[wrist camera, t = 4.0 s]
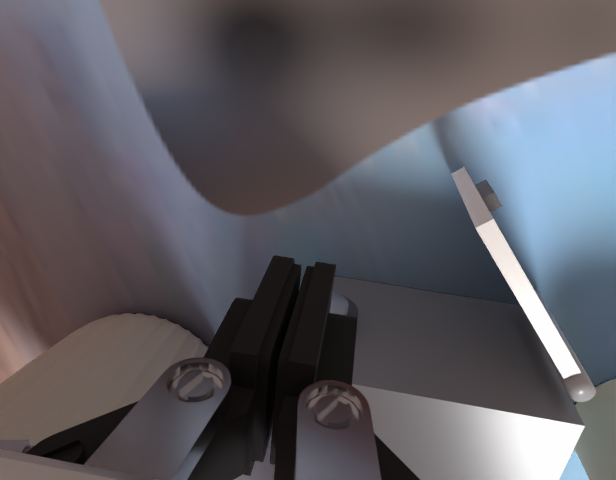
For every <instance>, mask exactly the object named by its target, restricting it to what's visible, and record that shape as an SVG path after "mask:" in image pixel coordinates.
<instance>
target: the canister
mask: <svg viewBox="0 0 616 480" xmlns="http://www.w3.org/2000/svg"><path fill="white" fill-rule="evenodd" d="M208 348H209V347H208V346H206V345H204V344H203V343H202V341H201V339H200V338H197V337H195V336H194V335H193V334H192V333H191V332H190V331H189V330H185V329H183V328H182V327H181V326H180V325H179V324H174V323H172V322H170V321H168V320H167V319H160V318H157V317H156V316H154V315H151V316H148V315H144V314H142V313H138V314H131V313H124V314H120V315H110V316H107V317H105V318H100V319H97V320H94V321H92V322H90V323H88V324H87V325H85V326H83V327H81V328H79V329H77V330H75V331H74V332H72V333H71V334H69V335H68V336H66V337H65V338H63V339H62V340H61V341H59V342H58V343H56V344H55V345H54V346H52V347H51V348H49V349H48V350H46V351H45V352H44V353H42V354H41V355H39V356H38V357H37V358H35V359H34V360H32V361H31V362H30V363H28V364H27V365H25V366H24V367H23V368H21V369H20V370H19V371H17V372H16V373H15V374H13V375H12V376H11V377H9V378H8V379H6V380H5V381H4V382H2V383H1V384H0V440H27V439H29V443H30V446H33V445H36V444H37V443H39V442H40V441H42V440H44V439H45V438H47V437H49V436H51V435H53V434H56V433H58V432H61V431H63V430H66V429H68V428H71V427H73V426H76V425H79V424H81V423H84V422H86V421H89V420H91V419H94V418H96V417H99V416H101V415H104V414H106V413H109V412H112V411H114V410H117V409H119V408H122V407H124V406H127V405H129V404H132V403H134V402H137V401H139V400H140V399H141V398H142V397H143V396H144V395H145V393H146V392H147V391H148V390H149V389H150V388H151V386H152V385H153V384H154V383H155V382H156V381H157V380H158V378H159V377H160V376H161V375H162V374H163V373H164V371H166V370H167V369H168V368H169V367H170V366H171V365H173V364H175V363H177V362H179V361H181V360H185V359H189V358H197V357H204V355H205V354H206V352H207V350H208Z"/></svg>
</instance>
